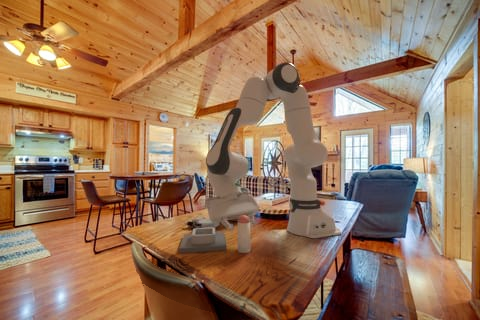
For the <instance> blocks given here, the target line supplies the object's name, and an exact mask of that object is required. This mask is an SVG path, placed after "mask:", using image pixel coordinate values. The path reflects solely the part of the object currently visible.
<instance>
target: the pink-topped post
mask: <svg viewBox="0 0 480 320" xmlns="http://www.w3.org/2000/svg"><path fill="white" fill-rule="evenodd" d="M237 252H238V253H240V254H248V253H251V226H250V218H249V217H248V216H246V215H241V216H240V217H239V218H238V221H237Z"/></svg>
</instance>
